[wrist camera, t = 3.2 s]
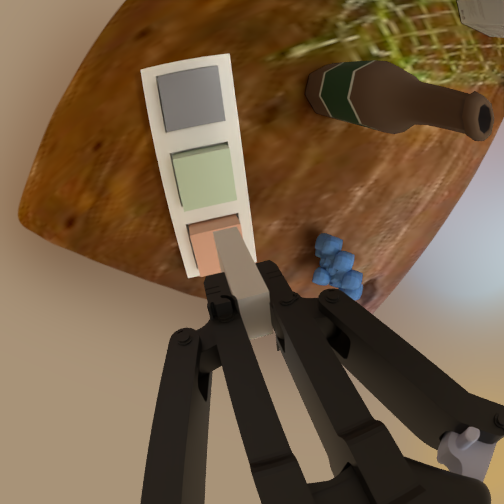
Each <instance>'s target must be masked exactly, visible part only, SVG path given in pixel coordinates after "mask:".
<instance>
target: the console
mask: <svg viewBox="0 0 504 504" xmlns="http://www.w3.org/2000/svg"><path fill="white" fill-rule="evenodd" d="M211 66H218V70H219V77H220V84H221V91H222V99H223V106H224V113H225V120H226V121H221V122H215V123H209V124H204V125H199V126H194V127H189V128H184V129H180V130H175V131H171V132H167V129H166V123H165V118H164V112H163V107H162V101H161V95H160V89H159V83H158V76H162V75H167V74H172V73H176V72H182V71H187V70H192V69H198V68H205V67H211ZM141 76H142V83H143V89H144V95H145V100H146V106H147V111H148V117H149V122H150V127H151V132H152V137H153V142H154V147H155V151H156V156H157V160H158V165H159V169H160V174H161V178H162V182H163V187H164V191H165V195H166V199H167V203H168V207H169V211H170V215H171V219H172V222H173V226H174V230H175V234H176V237H177V241H178V245H179V248H180V252H181V255H182V259H183V262H184V266H185V269H186V273H187V276H188V278H192V277H196V276H200V273H199V269H198V265H197V261H196V258H195V254H194V250H193V246H192V242H191V238H190V233H189V225H188V224H193V223H197V222H201V221H206V220H210V219H214V218H219V217H223V216H228V215H232V214H236V216H237V218H238V220H239V222H240V224H241V229H242V236H243V240H244V242H245V244H246V246H247V248H248V250H249V252H250V254H251V256H252V258H253V260H254V262H257V260H256V252H255V244H254V236H253V229H252V221H251V213H250V205H249V198H248V190H247V182H246V174H245V167H244V159H243V151H242V144H241V136H240V129H239V121H238V113H237V106H236V98H235V91H234V83H233V76H232V68H231V61H230V53H229V54H221V55H213V56H206V57H199V58H193V59H187V60H182V61H177V62H172V63H167V64H162V65H158V66H153V67H149V68H145V69H141ZM220 144H226V145H227V146H228V147H229V148H230V155H231V162H232V168H233V175H234V182H235V189H236V196H237V200H235V201H231V202H226V203H221V204H217V205H212V206H208V207H203V208H199V209H194V210H190V211H186V212H184V209H183V205H182V200H181V196H180V192H179V187H178V182H177V178H176V173H175V169H174V164H173V154H177V153H181V152H186V151H190V150H195V149H200V148H205V147H210V146H215V145H220Z"/></svg>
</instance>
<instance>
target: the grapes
mask: <svg viewBox="0 0 504 504" xmlns="http://www.w3.org/2000/svg"><path fill="white" fill-rule="evenodd" d="M342 243H343V240H342V239H340V238H337V237H334V236H332V235H329V234H326V233H321V234H320V235H319V236H318V237H317V239H316V243H315V248H316V251H315V256H317V257H319V258H321V259H320V266H321V267H318V268H317V269H316V270H315V272H314V274H313V280H312V282H314V283H316V284H318V285H327V284H329V285H331V286H333V287H336V288H339V290H341V291H343V292H344V293H345V294H347V295H348V296H349V297H351V298H352V299H353V300H358V299H359V298H360V296H361V294H362V290H363V285H362V284H361V283H362V277H363V274H362V273H360V272H358V271H355V270H352V266H353V264H354V254H352V253H349V252H346V251H341V249H342Z"/></svg>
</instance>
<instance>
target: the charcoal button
mask: <svg viewBox="0 0 504 504" xmlns="http://www.w3.org/2000/svg"><path fill="white" fill-rule="evenodd" d="M158 83H159V89H160V95H161V101H162V107H163V112H164V118H165V123H166V129H167V132H171V131H175V130H180V129H184V128H189V127H194V126H199V125H204V124H209V123H215V122H221V121H226V120H225V113H224V106H223V99H222V91H221V84H220V77H219V70H218V66H211V67H205V68H198V69H192V70H187V71H182V72H176V73H172V74H167V75H162V76H158Z"/></svg>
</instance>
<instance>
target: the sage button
mask: <svg viewBox="0 0 504 504" xmlns="http://www.w3.org/2000/svg"><path fill="white" fill-rule="evenodd" d="M173 164H174V169H175V173H176V178H177V182H178V187H179V192H180V196H181V200H182V205H183V209H184V212H186V211H190V210H194V209H199V208H203V207H208V206H212V205H217V204H221V203H226V202H231V201H235V200H237V196H236V189H235V182H234V175H233V168H232V162H231V155H230V148H229V147H228V146H227V145H226V144H220V145H215V146H210V147H205V148H200V149H195V150H190V151H186V152H181V153H177V154H173Z"/></svg>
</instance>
